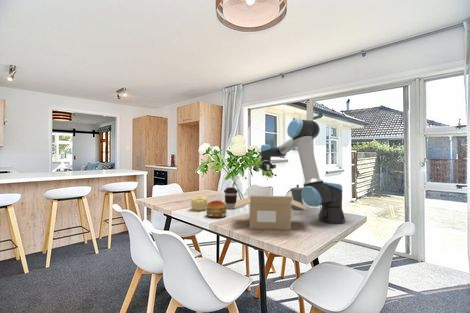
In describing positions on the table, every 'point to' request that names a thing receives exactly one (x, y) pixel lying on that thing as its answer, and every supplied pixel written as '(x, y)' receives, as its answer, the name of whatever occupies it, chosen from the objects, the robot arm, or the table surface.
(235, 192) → the coffee cup
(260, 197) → the near flap
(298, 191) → the coffeepot
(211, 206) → the burger
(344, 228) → the table surface
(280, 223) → the carton
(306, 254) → the table surface
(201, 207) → the sculpture
